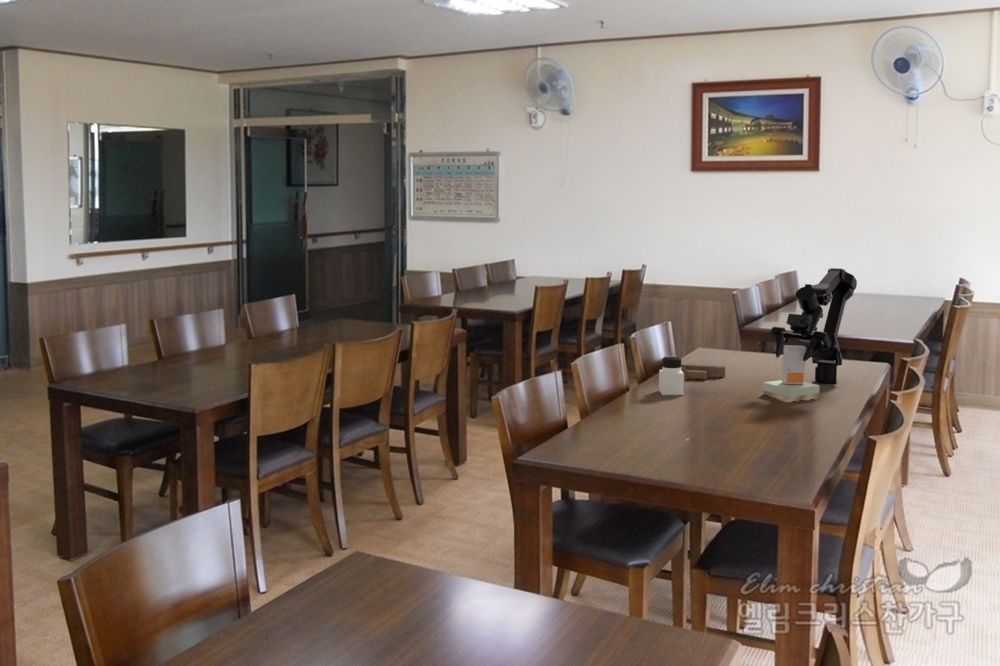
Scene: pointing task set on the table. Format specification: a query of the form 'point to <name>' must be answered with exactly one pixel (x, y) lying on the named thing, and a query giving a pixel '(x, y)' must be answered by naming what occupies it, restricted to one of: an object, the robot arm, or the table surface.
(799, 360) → the skincare box
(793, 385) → the top slab
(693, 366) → the wooden block set
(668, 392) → the medicine bottle
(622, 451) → the table surface
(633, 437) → the table surface
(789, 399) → the bottom slab
